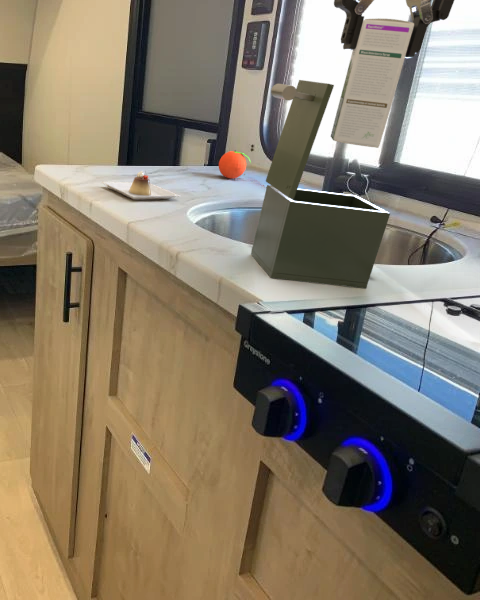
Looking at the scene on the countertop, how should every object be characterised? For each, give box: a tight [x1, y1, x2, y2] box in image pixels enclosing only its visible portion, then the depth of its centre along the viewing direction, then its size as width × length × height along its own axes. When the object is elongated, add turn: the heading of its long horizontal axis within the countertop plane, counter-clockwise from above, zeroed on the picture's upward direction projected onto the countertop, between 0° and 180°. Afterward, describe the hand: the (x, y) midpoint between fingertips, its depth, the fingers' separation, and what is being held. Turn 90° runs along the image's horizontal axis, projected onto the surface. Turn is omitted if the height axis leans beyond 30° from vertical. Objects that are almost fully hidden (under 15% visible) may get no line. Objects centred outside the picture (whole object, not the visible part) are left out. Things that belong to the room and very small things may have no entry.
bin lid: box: [265, 79, 335, 199], centre depth 80 cm, size 14×11×5 cm
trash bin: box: [250, 184, 391, 289], centre depth 86 cm, size 14×11×11 cm
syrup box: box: [330, 18, 414, 149], centre depth 75 cm, size 6×6×14 cm
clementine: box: [218, 150, 252, 180], centre depth 153 cm, size 8×7×7 cm
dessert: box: [101, 170, 181, 201], centre depth 123 cm, size 12×12×5 cm
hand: (378, 53), depth 74 cm, fingers closed on syrup box, 7 cm apart
